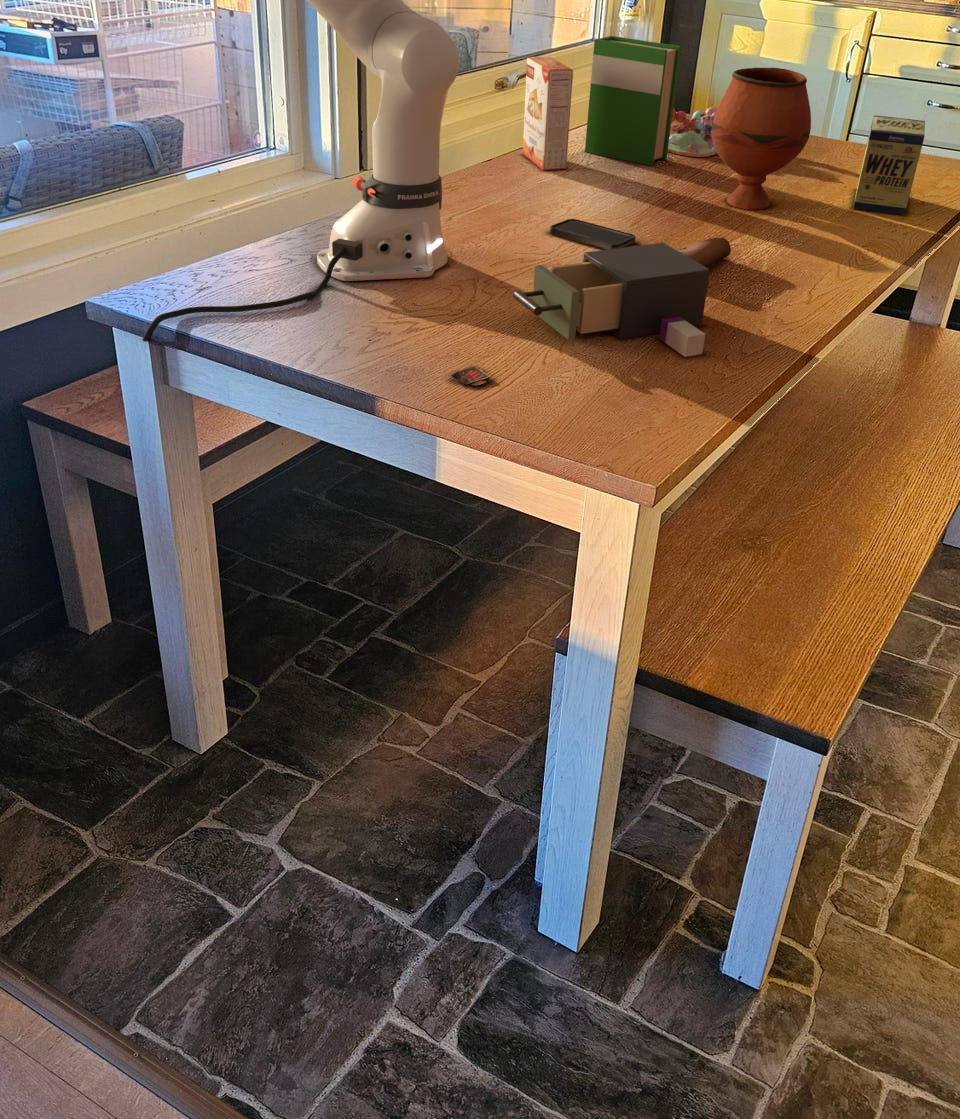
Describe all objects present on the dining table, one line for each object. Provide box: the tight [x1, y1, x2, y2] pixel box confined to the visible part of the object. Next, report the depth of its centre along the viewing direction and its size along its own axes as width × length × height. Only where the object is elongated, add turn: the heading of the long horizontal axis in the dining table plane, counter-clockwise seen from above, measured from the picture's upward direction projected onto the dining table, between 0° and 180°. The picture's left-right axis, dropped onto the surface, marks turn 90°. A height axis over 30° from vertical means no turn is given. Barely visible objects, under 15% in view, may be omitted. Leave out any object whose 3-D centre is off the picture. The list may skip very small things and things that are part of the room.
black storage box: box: [582, 242, 711, 340], centre depth 168 cm, size 15×13×9 cm
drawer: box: [512, 262, 624, 341], centre depth 164 cm, size 18×12×7 cm, turn 114°
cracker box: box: [522, 56, 574, 171], centre depth 239 cm, size 14×6×21 cm, turn 17°
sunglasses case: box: [675, 237, 732, 269], centre depth 189 cm, size 18×7×7 cm
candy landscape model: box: [667, 106, 718, 158], centre depth 260 cm, size 25×24×9 cm
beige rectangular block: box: [658, 317, 706, 358], centre depth 161 cm, size 7×3×3 cm, turn 24°
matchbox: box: [450, 366, 491, 387], centre depth 150 cm, size 5×5×1 cm
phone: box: [549, 218, 636, 250], centre depth 202 cm, size 8×1×15 cm
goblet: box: [711, 67, 812, 211], centre depth 217 cm, size 19×19×25 cm
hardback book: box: [584, 35, 682, 166], centre depth 246 cm, size 18×7×24 cm, turn 54°
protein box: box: [852, 114, 926, 216], centre depth 224 cm, size 10×16×16 cm
